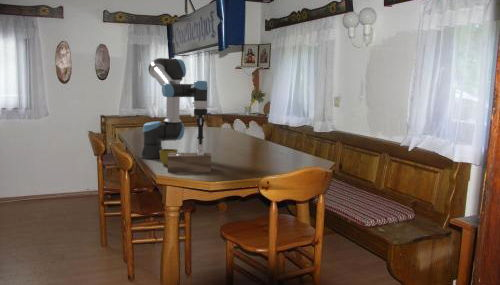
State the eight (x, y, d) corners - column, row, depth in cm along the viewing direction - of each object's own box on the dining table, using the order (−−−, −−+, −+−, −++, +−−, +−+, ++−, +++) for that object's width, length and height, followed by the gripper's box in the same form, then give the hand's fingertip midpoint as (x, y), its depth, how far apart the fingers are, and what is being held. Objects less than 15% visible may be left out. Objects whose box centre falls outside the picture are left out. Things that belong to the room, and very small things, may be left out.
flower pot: (158, 165, 249) (158, 150, 248) (163, 162, 258) (163, 148, 256) (173, 166, 248) (173, 151, 247) (177, 163, 256) (177, 149, 255)
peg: (196, 164, 241) (196, 149, 240) (203, 164, 241) (203, 149, 240) (196, 166, 237) (196, 150, 236) (203, 166, 237) (203, 150, 236)
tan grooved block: (169, 167, 243) (169, 152, 242) (210, 167, 246) (210, 152, 245) (167, 172, 231) (167, 156, 230) (211, 172, 234) (211, 156, 233)
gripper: (193, 107, 240) (193, 148, 244) (193, 108, 228) (193, 151, 231) (207, 107, 241) (206, 148, 245) (207, 109, 229) (207, 151, 232)
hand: (200, 149), depth 238 cm, fingers closed
